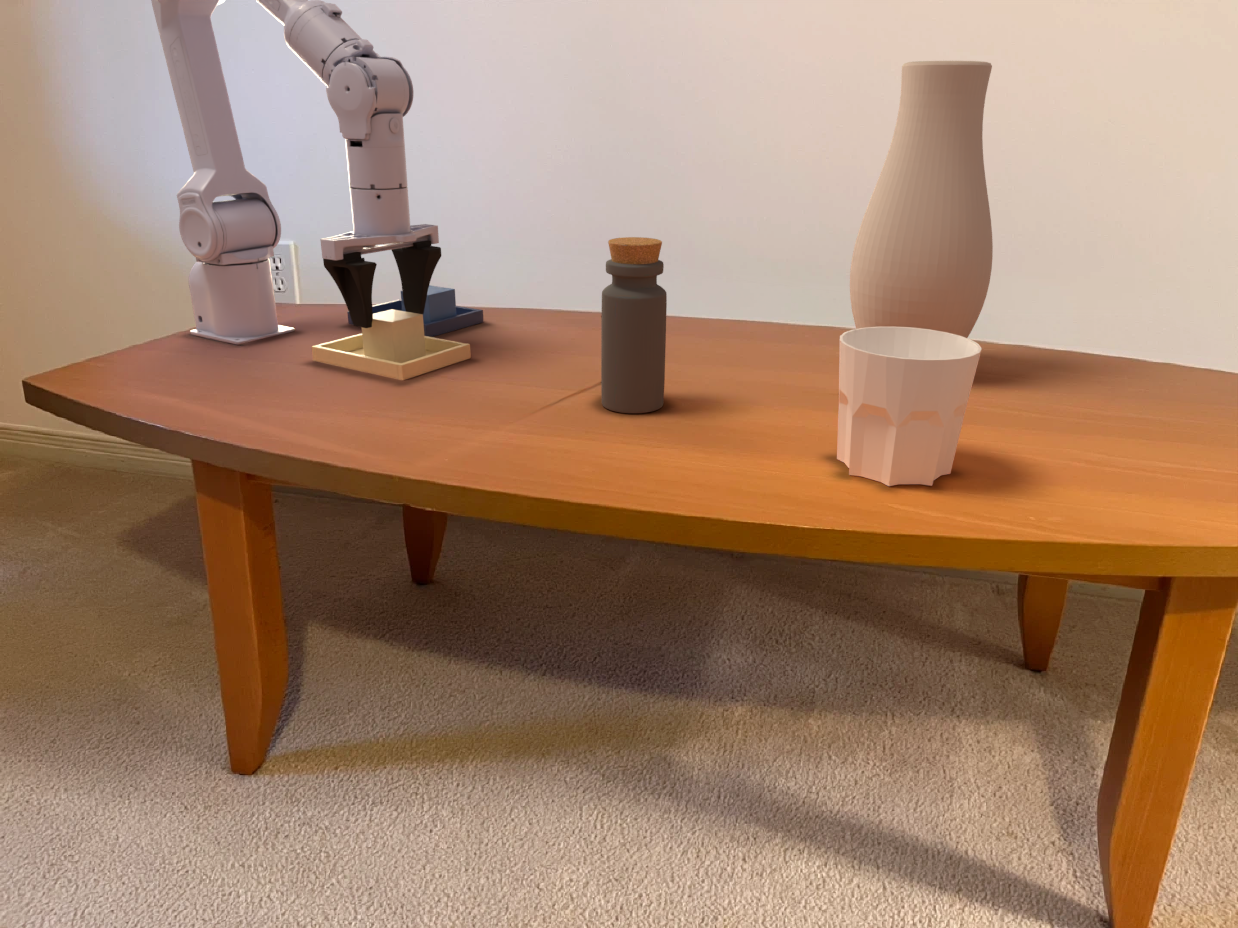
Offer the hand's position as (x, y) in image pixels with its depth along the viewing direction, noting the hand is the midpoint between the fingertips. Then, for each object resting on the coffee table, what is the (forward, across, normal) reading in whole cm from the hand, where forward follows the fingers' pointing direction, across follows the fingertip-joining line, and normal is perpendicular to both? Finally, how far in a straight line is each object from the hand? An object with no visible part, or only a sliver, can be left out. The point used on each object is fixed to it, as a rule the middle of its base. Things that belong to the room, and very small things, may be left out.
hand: (389, 319), depth 96 cm
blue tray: (+4, +13, +9) cm, 17 cm away
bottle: (+4, +1, -30) cm, 30 cm away
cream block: (+4, 0, -1) cm, 4 cm away
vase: (+4, +28, -48) cm, 56 cm away
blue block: (+4, +12, +6) cm, 14 cm away
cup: (+4, -1, -55) cm, 55 cm away
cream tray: (+4, -1, -1) cm, 5 cm away
